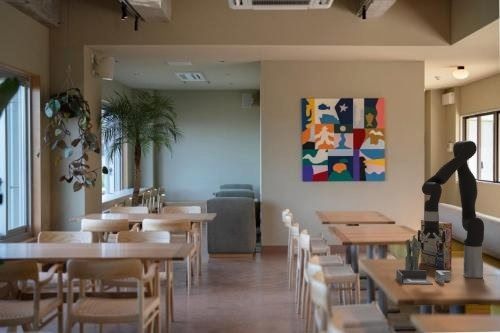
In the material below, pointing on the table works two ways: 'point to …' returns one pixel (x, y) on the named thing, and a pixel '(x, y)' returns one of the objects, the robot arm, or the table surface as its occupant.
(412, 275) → the grey l-shaped slot base
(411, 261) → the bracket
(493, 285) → the table surface
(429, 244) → the board game box
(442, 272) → the l bracket
